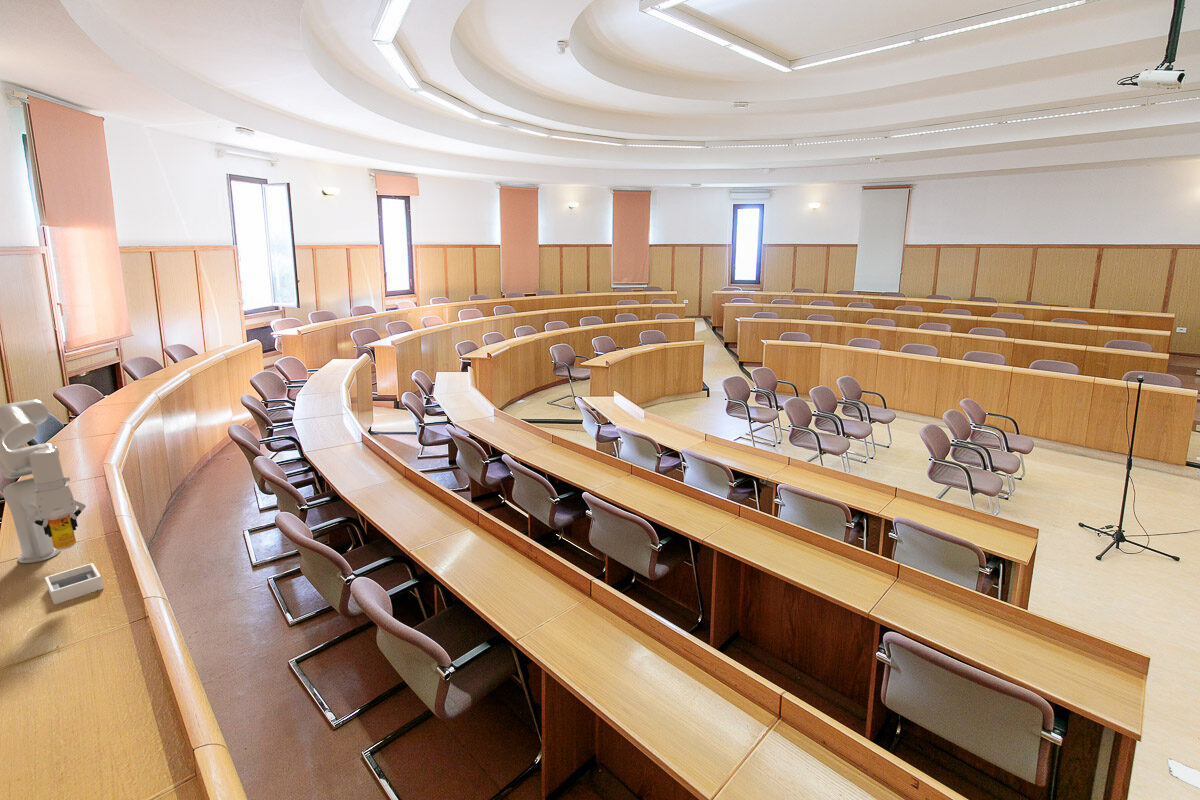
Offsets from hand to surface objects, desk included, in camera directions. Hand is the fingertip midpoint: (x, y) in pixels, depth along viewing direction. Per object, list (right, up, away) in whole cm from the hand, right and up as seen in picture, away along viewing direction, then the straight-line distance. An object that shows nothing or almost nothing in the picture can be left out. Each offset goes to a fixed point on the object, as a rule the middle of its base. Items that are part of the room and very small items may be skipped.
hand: (62, 531), depth 216 cm
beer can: (0, -6, +1) cm, 6 cm away
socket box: (0, -22, +6) cm, 23 cm away
